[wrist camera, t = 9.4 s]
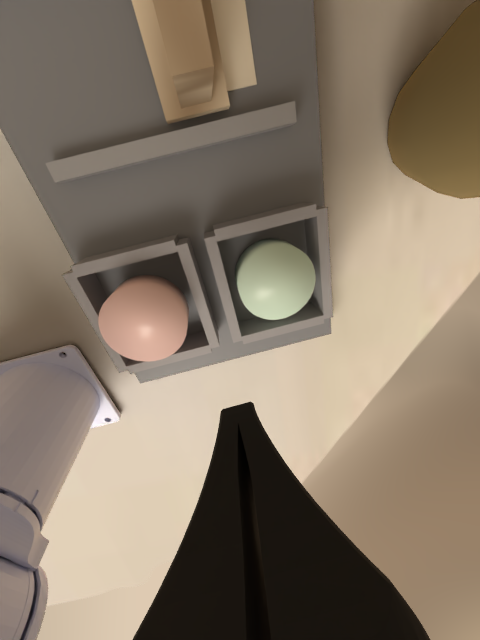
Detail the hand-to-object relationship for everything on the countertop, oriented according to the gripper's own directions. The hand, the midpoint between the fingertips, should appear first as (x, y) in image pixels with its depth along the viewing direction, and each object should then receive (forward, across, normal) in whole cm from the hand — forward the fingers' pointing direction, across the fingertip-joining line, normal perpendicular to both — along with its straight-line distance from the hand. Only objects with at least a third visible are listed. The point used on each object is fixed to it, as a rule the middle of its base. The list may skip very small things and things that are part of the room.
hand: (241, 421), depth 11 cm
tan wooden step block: (+8, -2, -14) cm, 16 cm away
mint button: (+7, -4, -4) cm, 9 cm away
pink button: (+6, +4, -4) cm, 8 cm away
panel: (+9, 0, -8) cm, 13 cm away
